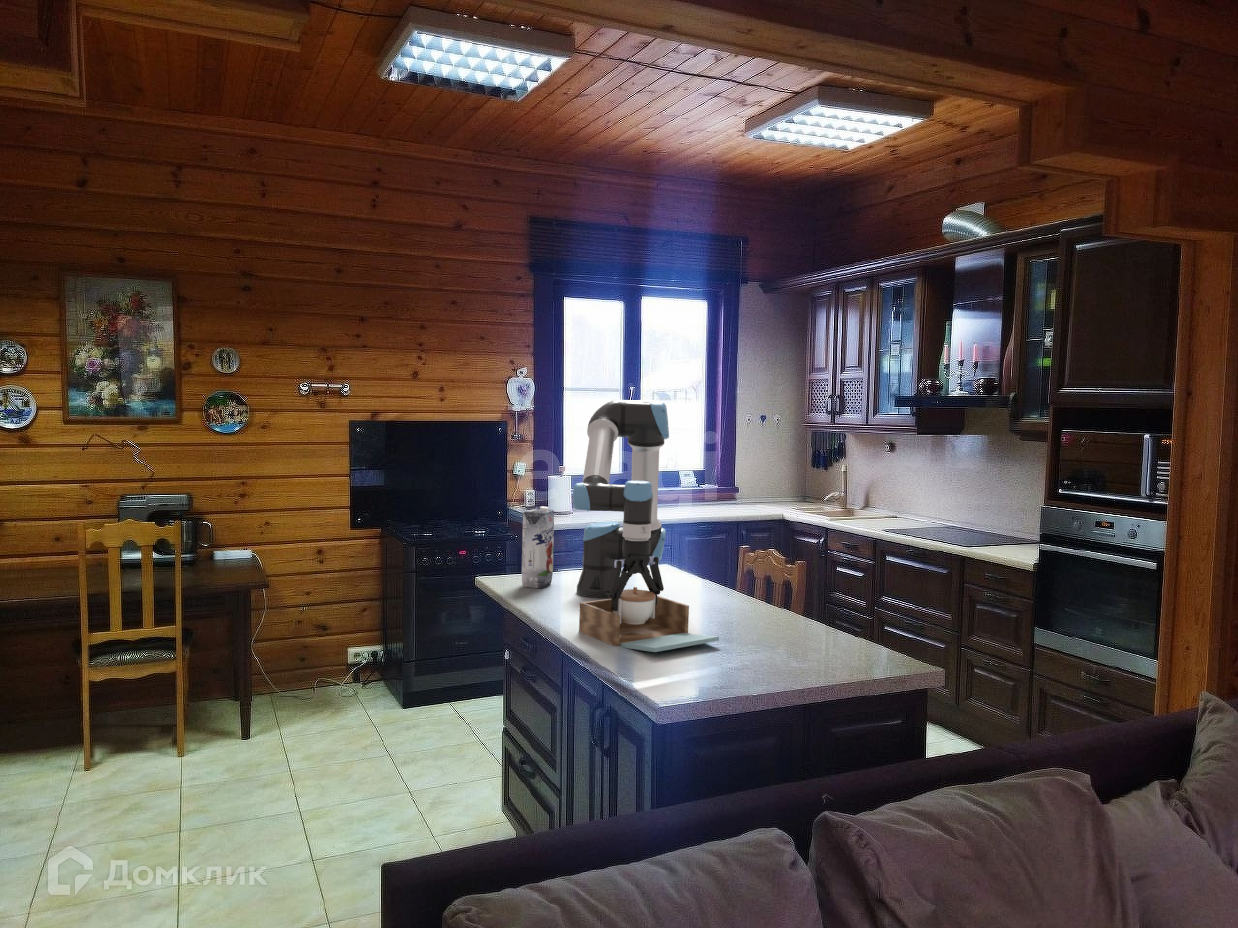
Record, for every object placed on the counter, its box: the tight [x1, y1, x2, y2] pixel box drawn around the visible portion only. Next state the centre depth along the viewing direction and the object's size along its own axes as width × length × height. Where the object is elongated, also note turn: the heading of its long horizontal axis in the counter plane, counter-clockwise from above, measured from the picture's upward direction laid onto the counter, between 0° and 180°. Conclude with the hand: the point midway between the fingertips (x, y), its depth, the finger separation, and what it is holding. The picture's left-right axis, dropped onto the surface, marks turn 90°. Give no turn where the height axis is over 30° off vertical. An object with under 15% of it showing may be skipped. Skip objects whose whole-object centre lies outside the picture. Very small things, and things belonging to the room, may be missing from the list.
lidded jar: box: [619, 586, 655, 625], centre depth 242 cm, size 11×11×9 cm
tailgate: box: [619, 632, 720, 653], centre depth 230 cm, size 1×21×15 cm
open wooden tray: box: [578, 595, 690, 647], centre depth 242 cm, size 17×24×9 cm
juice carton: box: [521, 506, 555, 589], centre depth 303 cm, size 9×10×27 cm
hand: (634, 619), depth 242 cm, fingers closed on lidded jar, 11 cm apart
